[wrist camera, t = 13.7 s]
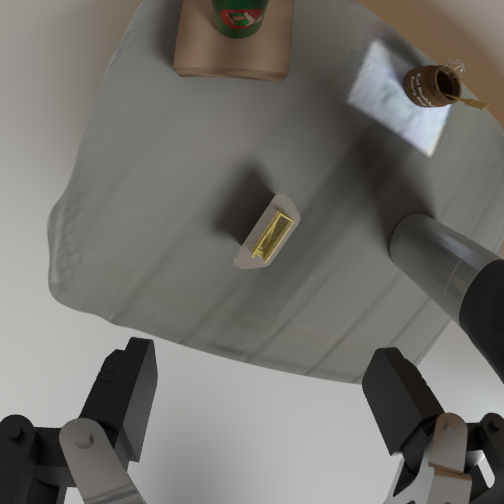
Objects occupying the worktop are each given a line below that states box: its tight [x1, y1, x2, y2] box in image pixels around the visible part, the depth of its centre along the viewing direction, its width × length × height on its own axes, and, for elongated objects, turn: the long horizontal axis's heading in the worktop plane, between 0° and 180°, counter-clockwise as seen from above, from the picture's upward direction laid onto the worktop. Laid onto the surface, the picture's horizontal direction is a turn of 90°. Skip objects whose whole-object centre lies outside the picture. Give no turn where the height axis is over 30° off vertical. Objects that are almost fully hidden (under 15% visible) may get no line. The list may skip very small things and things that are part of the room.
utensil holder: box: [404, 64, 488, 110], centre depth 25 cm, size 6×6×12 cm
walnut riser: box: [173, 0, 294, 82], centre depth 25 cm, size 12×12×5 cm
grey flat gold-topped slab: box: [233, 192, 300, 269], centre depth 34 cm, size 12×18×7 cm, turn 148°
